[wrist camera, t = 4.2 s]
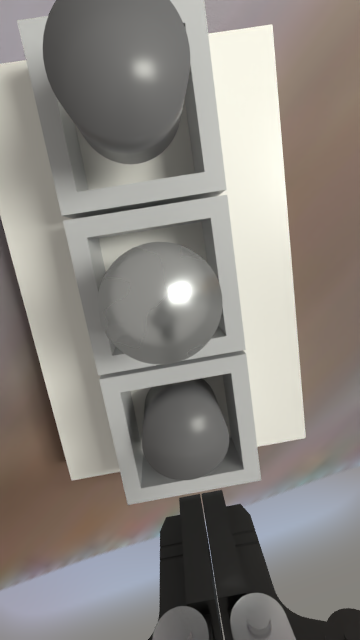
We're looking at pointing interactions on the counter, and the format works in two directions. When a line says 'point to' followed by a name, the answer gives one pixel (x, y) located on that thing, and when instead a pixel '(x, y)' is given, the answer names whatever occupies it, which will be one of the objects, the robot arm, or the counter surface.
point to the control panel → (157, 226)
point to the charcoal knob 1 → (119, 73)
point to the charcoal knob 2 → (184, 430)
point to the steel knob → (160, 303)
